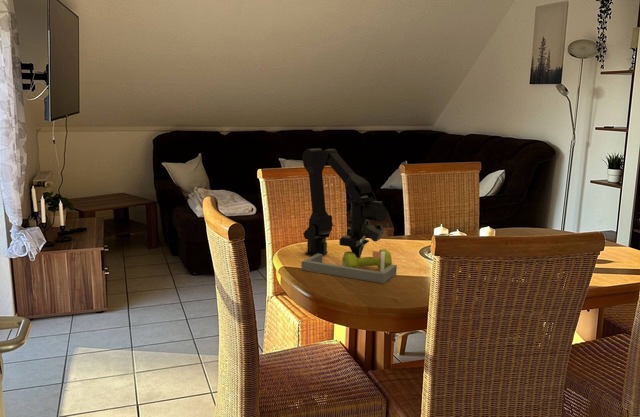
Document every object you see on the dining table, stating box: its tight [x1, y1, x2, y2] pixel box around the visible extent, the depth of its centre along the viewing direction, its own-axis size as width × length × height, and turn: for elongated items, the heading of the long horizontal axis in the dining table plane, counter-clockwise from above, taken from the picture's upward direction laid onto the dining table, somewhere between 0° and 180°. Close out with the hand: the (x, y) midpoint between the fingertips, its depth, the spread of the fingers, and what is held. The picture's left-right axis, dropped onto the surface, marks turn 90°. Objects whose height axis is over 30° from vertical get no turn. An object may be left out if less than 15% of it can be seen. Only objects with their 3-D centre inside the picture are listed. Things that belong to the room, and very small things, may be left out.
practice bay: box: [301, 250, 398, 284], centre depth 202 cm, size 30×12×10 cm, turn 63°
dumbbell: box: [341, 248, 393, 270], centre depth 203 cm, size 16×8×7 cm, turn 105°
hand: (357, 260), depth 209 cm, fingers closed
